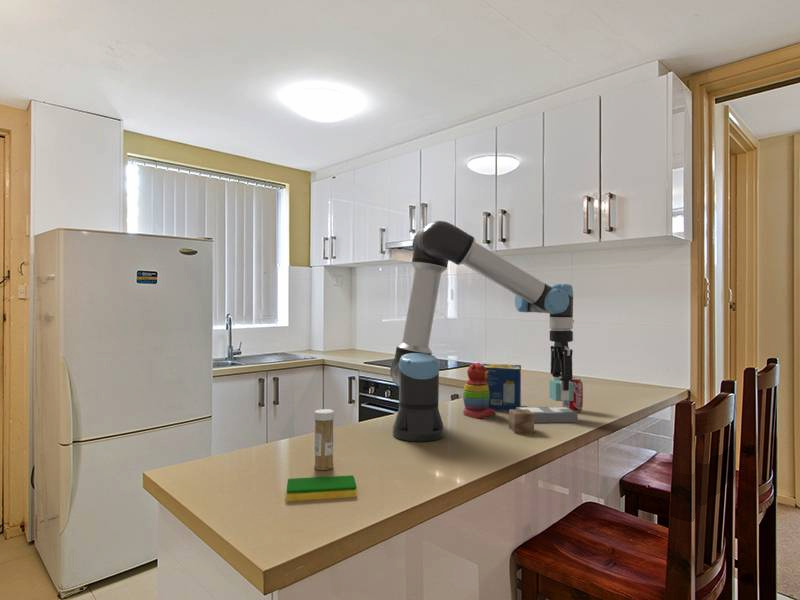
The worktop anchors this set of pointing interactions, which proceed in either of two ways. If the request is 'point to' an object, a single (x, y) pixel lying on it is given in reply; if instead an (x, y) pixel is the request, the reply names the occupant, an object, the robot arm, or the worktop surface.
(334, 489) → the dish sponge
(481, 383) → the stacking bear
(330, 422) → the sprinkles bottle
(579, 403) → the soda can
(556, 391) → the teal block
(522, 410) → the walnut block
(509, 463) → the worktop surface
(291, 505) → the worktop surface
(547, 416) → the plinth
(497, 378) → the protein box
